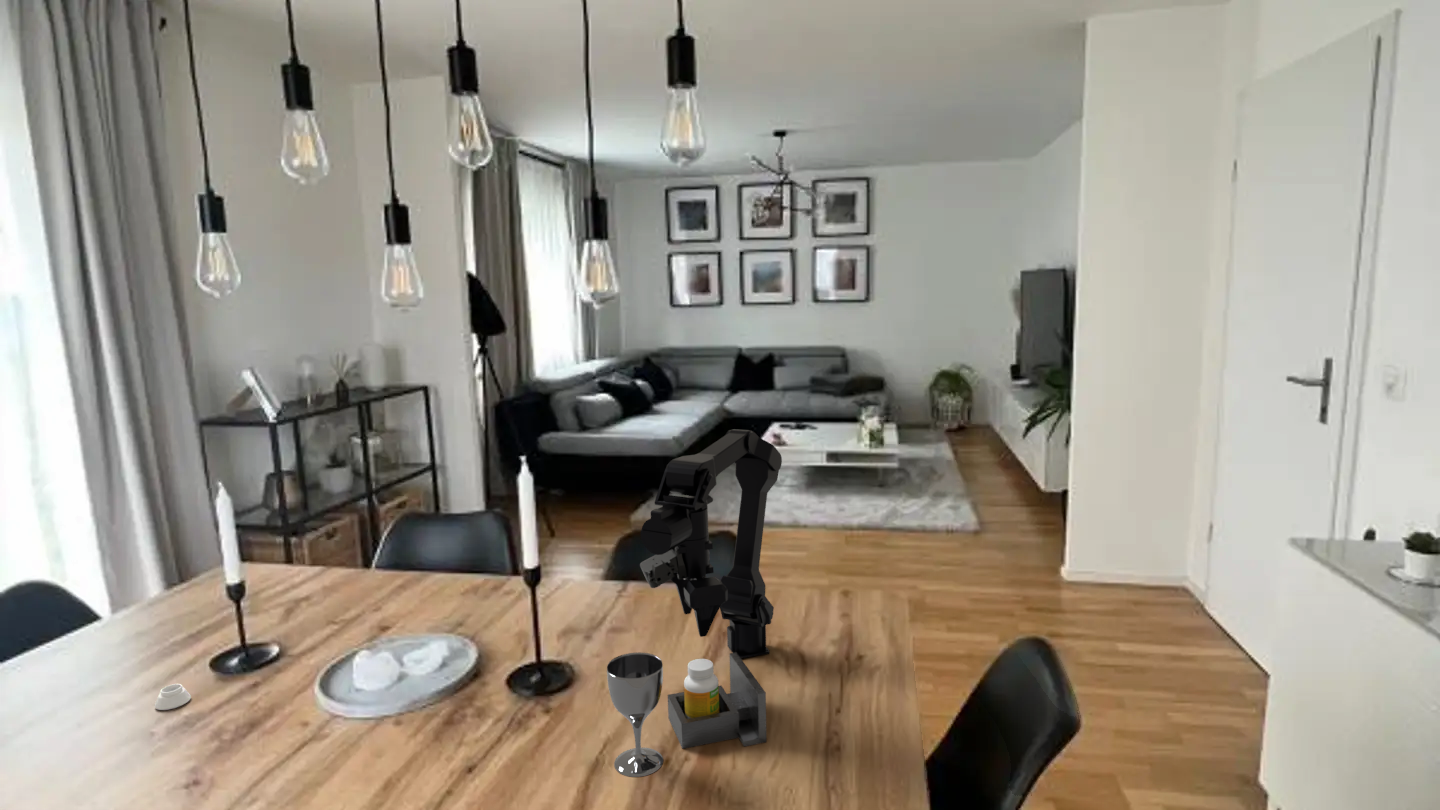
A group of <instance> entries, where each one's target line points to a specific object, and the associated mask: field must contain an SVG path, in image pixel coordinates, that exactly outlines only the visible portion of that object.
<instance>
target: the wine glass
mask: <svg viewBox="0 0 1440 810" xmlns="http://www.w3.org/2000/svg"><path fill="white" fill-rule="evenodd" d="M663 664H664V663H663V660H662V659H661V658H660V657H659V656H657V655H655V654H653V653H648V652H629V653H624V654H621V655H618V656H616V657H614V658H613V659H611V660H610V661H609V662H608V663H607V665H606V676H607V678H606V679H607V687H608V691H609V696H610V700H611V702H612V704H613V706H614V708H615V709H616V711H617V712H618V713H620V714H621V715H622V716H623V718H626V720H628V721H629V723H630V725H631V726H632V729H633V736H634V743H635V747H634V748H629V749H627V750H625V751H623V752H621V753H620V754H619V755H617V757H616V758H615V760H614V763H613V764H614V769H615V770H616V771H617V772H618V773H619V774H620V775H622V776H625V777H631V778H639V777H645V776H649V775H651V774H654V773H655V772H657V771H658V770H659V769H661V767H662V766H663V764H664V757H663V754H661V753H660V752H659V751H658V750H656V749H654V748H651V747H642V745H641V743H642V742H641V740H642V727H643V725H644V722H645V720H646V719H647V718H648V716H650V714H651V713H653V712H652V711H654V710H655V708H656V707H657V705H659V701H660V699H661V695H662V690H663V681H664V667H663V666H664V665H663Z"/></svg>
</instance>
